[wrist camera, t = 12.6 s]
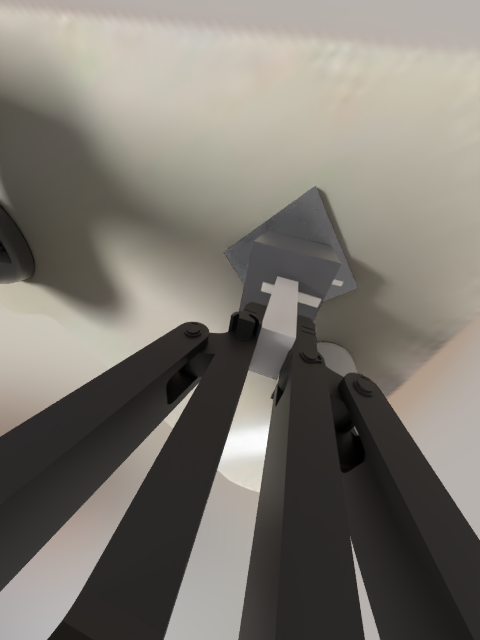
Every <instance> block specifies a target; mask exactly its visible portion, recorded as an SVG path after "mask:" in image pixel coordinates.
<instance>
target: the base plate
mask: <svg viewBox="0 0 480 640" xmlns="http://www.w3.org/2000/svg"><path fill="white" fill-rule="evenodd" d="M267 231H271V232H275V233H279V234H283V235H288V236H292V237H296V238H300V239H304V240H308V241H312V242H316V243H320V244H324V245H328V246H332V248H333V250H334V251H335V253H336V255H337V256H338V258H339V260H340V261H341V263H342V264H341V266H340V268H339V270H338V272H337V274H336V276H335V278H334V280H333V282H332V284H331V286H330V288H329V290H328V292H327V294H326V296H325V298H324V300H323V302H325V301H327V300H330V299H332V298H335V297H337V296H340V295H342V294H345V293H347V292H350V291H352V290H355V289H357V288H358V287H357V284H356V282H355V280H354V277H353V275H352V272H351V270H350V267H349V265H348V263H347V260H346V258H345V255H344V253H343V251H342V248H341V246H340V243H339V241H338V239H337V236H336V234H335V231H334V229H333V227H332V224H331V222H330V219H329V217H328V215H327V212H326V210H325V207H324V205H323V203H322V200H321V198H320V195H319V193H318V190H317V188H316V186H315V187H313V188H312V189H310V190H309V191H308V192H306V193H305V194H303V195H302V196H301V197H299V198H298V199H297V200H295V201H294V202H292V203H291V204H290V205H288V206H287V207H285V208H284V209H283V210H281V211H280V212H279V213H277V214H276V215H274V216H273V217H272V218H270V219H269V220H267V221H266V222H265V223H263V224H262V225H261V226H259V227H258V228H256V229H255V230H254V231H252V232H251V233H250V234H248V235H247V236H245V237H244V238H243V239H241V240H240V241H238V242H237V243H236V244H234V245H233V246H232V247H230V248H229V249H227V250H226V251H225V252H224V254H225V255H226V257H227V258H228V260H229V262H230V263H231V265H232V266H233V268H234V269H235V271H236V272H237V274H238V276H239V277H240V279H241V280H242V282H243V283H244V285H245V280H246V275H247V270H248V265H249V260H250V255H251V251H252V246H253V241H254V240H256V239H257V238H258V237H260V236H261V235H263V234H264V233H265V232H267Z"/></svg>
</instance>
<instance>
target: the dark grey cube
mask: <svg viewBox="0 0 480 640" xmlns="http://www.w3.org/2000/svg"><path fill="white" fill-rule="evenodd" d="M341 264H342V263H341V261H340V260H339V258H338V256H337V255H336V253H335V251H334V250H333V248H332V246H328V245H324V244H320V243H316V242H312V241H308V240H304V239H300V238H296V237H292V236H288V235H283V234H279V233H275V232H271V231H267V232H265V233H264V234H263V235H261V236H260V237H258V238H257V239H256V240H254V241H253V246H252V251H251V255H250V260H249V265H248V270H247V275H246V280H245V285H244V289H243V294H242V299H241V304H240V309H239V311H243V310H244V308H245V306H246V304H248V303H250V302H255V303H258V304H262V305H265V306H268V303H269V300H270V297H271V294H272V291H273V288H274V285H275V282H276V279H277V276H279V277H282V278H286V279H290V280H293V281H297V282H298V303H297V315H301V316H304V317H308V318H311V320H312V321H313V320H314V318H315V316H316V314H317V312H318V310H319V308H320V306H321V304H322V302H323V300H324V298H325V296H326V294H327V292H328V290H329V288H330V286H331V284H332V282H333V280H334V278H335V276H336V274H337V272H338V270H339V268H340V266H341Z"/></svg>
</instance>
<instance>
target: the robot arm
mask: <svg viewBox="0 0 480 640" xmlns="http://www.w3.org/2000/svg"><path fill="white" fill-rule="evenodd" d="M33 271H34V263H33V259H32V255H31V252H30V250H29V247H28V245H27V243H26V241H25V240H24V238H23V236H22V234H21V233H20V231H19V230H18V228H17V227H16V225H15V224H14V222H13V221H12V220H11V219H10V217H9V216H8V215H7V214H6V212H5V211H4V210H3V209H2V208H1V207H0V284H9V283H15V282H19V281H22V280H26V279H29V278H30V277H31V276H32V275H33ZM297 303H298V282H297V281H293V280H290V279H286V278H282V277H279V276H277V279H276V282H275V285H274V288H273V291H272V294H271V297H270V300H269V303H268V306H265V305H262V304H258V303H255V302H250V303H248V304H246V306H245V308H244V310H243V311H238V312H235V313H233V314H232V315H231V320H230V325H229V331H228V332H226V333H209V330H208V328H207V327H206V326H205V325H204V324H201V323H199V322H186V323H184V324H182V325H180V326H178V327H177V328H175V329H173V330H172V331H170V332H169V333H167V334H165V335H164V336H162V337H160V338H159V339H157V340H156V341H154V342H152V343H151V344H149V345H148V346H146V347H144V348H143V349H141V350H140V351H138V352H136V353H135V354H133V355H131V356H130V357H128V358H127V359H125V360H123V361H122V362H120V363H119V364H117V365H115V366H114V367H112V368H110V369H109V370H108V371H106V372H104V373H102V374H101V375H99V376H98V377H96V378H94V379H93V380H91V381H90V382H88V383H86V384H85V385H83V386H81V387H80V388H78V389H77V390H75V391H74V392H72V393H70V394H69V395H67V396H65V397H64V398H62V399H61V400H59V401H57V402H56V403H54V404H52V405H51V406H49V407H48V408H46V409H45V410H43V411H41V412H40V413H38V414H36V415H35V416H33V417H32V418H30V419H28V420H27V421H25V422H23V423H22V424H20V425H19V426H17V427H15V428H14V429H12V430H11V431H9V432H7V433H6V434H4V435H2V436H1V437H0V591H1V590H2V589H3V588H4V587H5V586H6V585H7V584H8V583H9V582H10V581H11V580H12V579H13V578H14V577H15V576H16V574H18V572H19V571H20V570H21V569H22V568H23V567H24V566H25V565H26V564H27V563H28V562H29V561H30V560H31V559H32V558H33V557H34V556H35V555H36V554H37V552H38V551H39V550H40V549H41V548H42V547H43V546H44V545H45V544H46V543H47V542H48V541H49V540H50V539H51V538H52V536H54V534H56V532H57V531H58V530H59V529H60V528H61V527H62V526H63V525H64V524H65V523H66V522H67V521H68V520H69V519H70V518H71V517H72V516H73V515H74V513H75V512H76V511H77V510H78V509H79V508H80V507H81V506H82V505H83V504H84V503H85V502H86V501H87V500H88V499H89V498H90V497H91V496H92V495H93V493H94V492H95V491H96V490H97V489H98V488H99V487H100V486H101V485H102V484H103V483H104V482H105V481H106V480H107V479H108V478H109V477H110V475H111V474H112V473H113V472H114V471H115V470H116V469H117V468H118V467H119V466H120V465H121V464H122V463H123V462H124V461H125V460H126V459H127V458H128V457H129V456H130V454H131V453H132V452H133V451H134V450H135V449H136V448H137V447H138V446H139V445H140V444H141V443H142V442H143V441H144V440H145V439H146V438H147V436H149V435H150V433H151V432H152V431H153V430H154V429H155V428H156V427H157V426H158V425H159V424H160V423H161V422H162V421H163V420H164V419H165V418H166V417H167V416H168V415H169V413H170V412H171V411H172V410H173V409H174V408H175V407H176V406H177V405H178V404H179V403H180V402H181V401H182V400H183V399H184V398H185V397H186V396H187V394H188V393H189V392H190V391H191V390H192V389H193V388H194V387H195V386H196V385H197V384H198V383H199V384H198V386H197V387H196V389H195V391H194V393H193V395H192V396H191V398H190V400H189V402H188V403H187V405H186V407H185V409H184V410H183V412H182V414H181V416H180V418H179V419H178V421H177V423H176V425H175V426H174V428H173V430H172V432H171V433H170V435H169V437H168V439H167V441H166V442H165V444H164V446H163V448H162V449H161V451H160V453H159V455H158V456H157V458H156V460H155V462H154V464H153V466H152V467H151V469H150V471H149V472H148V474H147V476H146V478H145V479H144V481H143V483H142V485H141V486H140V488H139V490H138V492H137V494H136V495H135V497H134V499H133V501H132V502H131V504H130V506H129V508H128V509H127V511H126V513H125V515H124V517H123V518H122V520H121V522H120V524H119V526H118V527H117V529H116V531H115V533H114V534H113V536H112V538H111V540H110V542H109V543H108V545H107V547H106V548H105V551H104V552H103V554H102V555H101V557H100V559H99V561H98V563H97V564H96V566H95V568H94V570H93V572H92V573H91V575H90V577H89V578H88V580H87V582H86V584H85V586H84V587H83V589H82V591H81V592H80V594H79V596H78V597H77V599H76V601H75V602H74V604H73V606H72V607H71V609H70V610H69V612H68V613H67V614H66V616H65V617H64V619H63V620H62V622H61V623H60V624H59V625H58V627H57V628H56V629H55V631H54V632H53V633H52V634H51V636H50V637H49V638H48V639H47V640H164V637H165V634H166V631H167V627H168V624H169V621H170V618H171V614H172V611H173V608H174V605H175V602H176V599H177V596H178V593H179V589H180V586H181V583H182V580H183V577H184V573H185V570H186V567H187V563H188V561H189V558H190V554H191V551H192V548H193V545H194V542H195V538H196V535H197V532H198V528H199V526H200V522H201V519H202V516H203V513H204V510H205V506H206V503H207V500H208V497H209V494H210V491H211V487H212V484H213V481H214V478H215V475H216V472H217V468H218V465H219V462H220V459H221V456H222V453H223V449H224V446H225V443H226V440H227V437H228V433H229V430H230V427H231V424H232V421H233V418H234V414H235V411H236V408H237V405H238V402H239V398H240V395H241V392H242V389H243V386H244V383H245V379H246V376H247V373H248V370H250V371H253V372H256V373H259V374H262V375H264V376H267V377H270V378H273V379H276V380H277V378H278V376H279V381H278V383H277V386H276V388H275V390H274V392H273V394H272V396H271V399H273V398H274V400H273V407H272V414H271V420H270V427H269V434H268V441H267V448H266V455H265V461H264V468H263V475H262V482H261V489H260V496H259V503H258V510H257V516H256V523H255V530H254V537H253V545H252V550H251V557H250V564H249V571H248V578H247V585H246V591H245V598H244V606H243V612H242V619H241V626H240V632H239V639H238V640H365V638H364V631H363V624H362V617H361V610H360V603H359V596H358V589H357V582H356V575H355V568H354V561H353V554H352V547H351V541H352V544H353V548H354V551H355V554H356V558H357V561H358V565H359V568H360V571H361V575H362V578H363V582H364V585H365V589H366V592H367V595H368V599H369V602H370V606H371V609H372V612H373V616H374V619H375V623H376V626H377V629H378V633H379V637H380V640H480V540H479V539H478V537H477V535H476V534H475V532H474V531H473V529H472V528H471V526H470V525H469V523H468V522H467V520H466V519H465V517H464V516H463V514H462V513H461V511H460V510H459V508H458V507H457V505H456V504H455V502H454V501H453V499H452V498H451V496H450V495H449V493H448V492H447V490H446V489H445V487H444V486H443V484H442V482H441V481H440V479H439V478H438V476H437V475H436V474H435V472H434V470H433V469H432V468H431V466H430V464H429V463H428V461H427V460H426V458H425V457H424V455H423V454H422V452H421V451H420V449H419V448H418V446H417V445H416V443H415V442H414V440H413V438H412V437H411V435H410V434H409V432H408V431H407V429H406V428H405V426H404V425H403V424H402V422H401V420H400V419H399V417H398V416H397V414H396V413H395V411H394V410H393V408H392V407H391V405H390V404H389V402H388V401H387V399H386V398H385V396H384V395H383V393H382V391H381V390H380V389H379V388H378V386H377V385H376V384H375V383H374V382H373V381H371V380H370V379H369V378H367V377H365V376H363V375H362V374H358V373H348V374H346V375H345V376H344V377H343V376H341V375H340V374H338V373H336V372H334V371H332V370H331V369H329V368H328V367H327V366H326V365H325V360H324V358H323V356H322V355H321V354H320V353H319V352H318V351H317V342H316V336H315V335H316V332H315V324H314V323H313V321H312V320H311V318H308V317H304V316H301V315H297ZM354 427H355V428H356V430H357V432H358V434H359V435H358V434H357V432H356V431H355V429H354ZM350 537H351V540H350Z"/></svg>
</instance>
